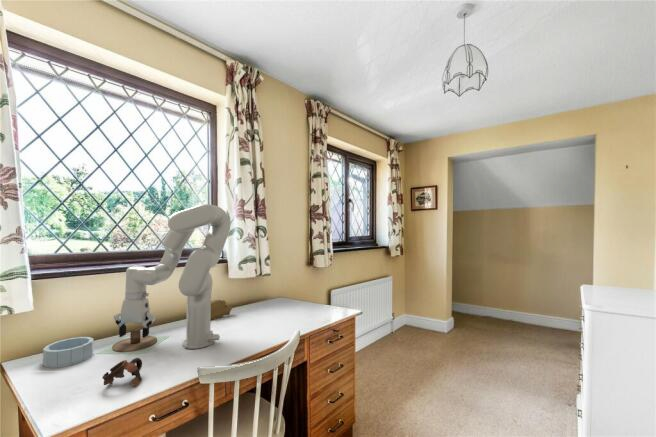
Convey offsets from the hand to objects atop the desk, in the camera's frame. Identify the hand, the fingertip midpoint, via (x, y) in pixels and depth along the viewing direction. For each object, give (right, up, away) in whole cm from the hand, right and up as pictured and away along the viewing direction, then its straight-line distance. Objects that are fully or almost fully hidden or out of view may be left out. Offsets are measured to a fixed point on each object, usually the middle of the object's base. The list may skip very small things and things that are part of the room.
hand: (133, 336), depth 127 cm
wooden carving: (+21, -5, +38) cm, 44 cm away
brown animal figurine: (+17, -3, -31) cm, 35 cm away
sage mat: (+1, -4, 0) cm, 4 cm away
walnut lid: (+1, -3, 0) cm, 3 cm away
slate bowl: (-15, -4, -14) cm, 21 cm away
